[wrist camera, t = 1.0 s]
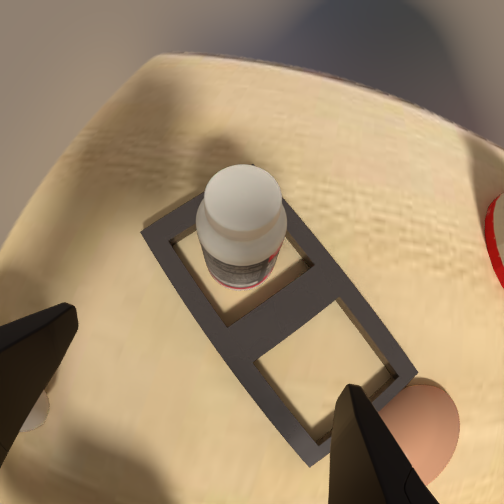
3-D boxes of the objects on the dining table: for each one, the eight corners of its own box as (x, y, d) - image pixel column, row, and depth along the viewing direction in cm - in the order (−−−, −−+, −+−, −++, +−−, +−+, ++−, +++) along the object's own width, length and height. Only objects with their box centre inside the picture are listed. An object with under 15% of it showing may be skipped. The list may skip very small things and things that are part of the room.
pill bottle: (278, 289, 24) (303, 240, 15) (207, 294, 24) (189, 249, 15) (270, 224, 26) (286, 150, 17) (204, 229, 26) (188, 156, 17)
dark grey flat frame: (306, 463, 20) (309, 467, 19) (144, 237, 25) (140, 231, 24) (411, 372, 22) (418, 372, 21) (252, 171, 28) (253, 163, 27)
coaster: (392, 512, 18) (395, 515, 17) (332, 443, 20) (334, 445, 20) (470, 434, 20) (474, 435, 20) (422, 360, 23) (426, 360, 22)
